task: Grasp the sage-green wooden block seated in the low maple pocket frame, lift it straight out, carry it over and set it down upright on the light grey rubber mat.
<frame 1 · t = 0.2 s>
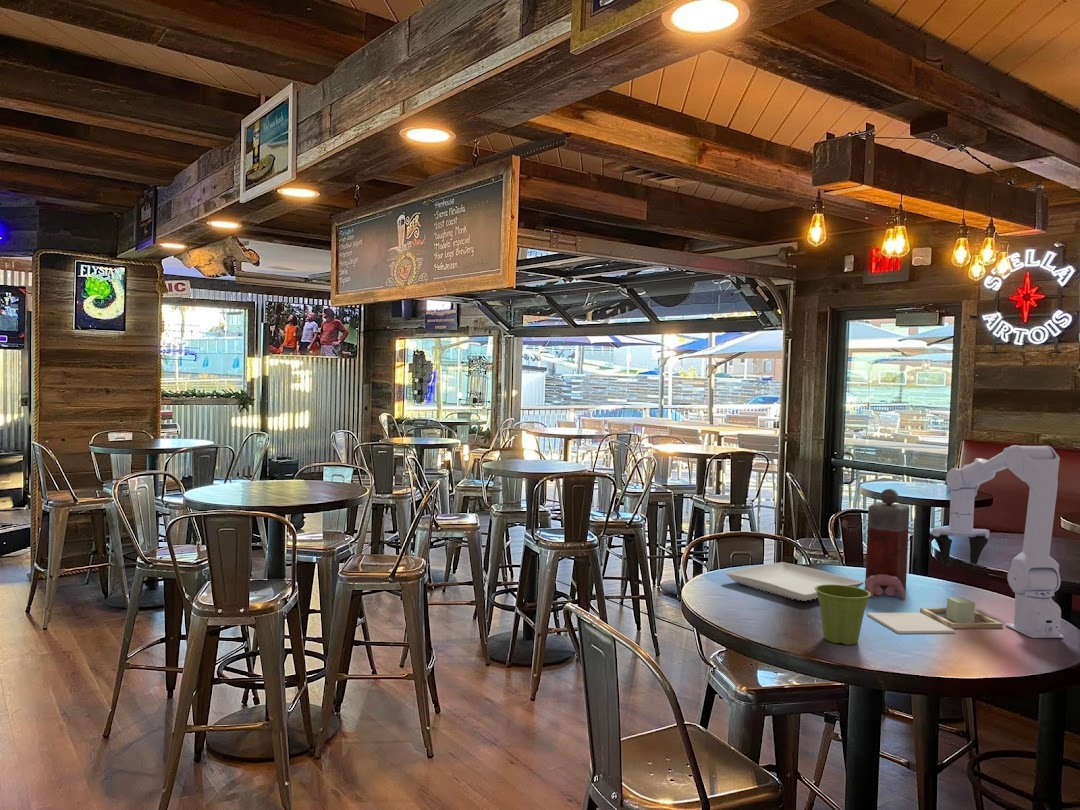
hand: (959, 563, 214), 10 cm above the table, tool pointing down, fingers open, 7 cm apart
plant pot: (840, 640, 178), on the table
maple pocket frame: (960, 619, 196), on the table
grey mat: (909, 623, 191), on the table
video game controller: (884, 597, 216), on the table
brown canister: (886, 586, 228), on the table
square plate: (792, 589, 223), on the table
sage block: (960, 620, 196), resting in maple pocket frame
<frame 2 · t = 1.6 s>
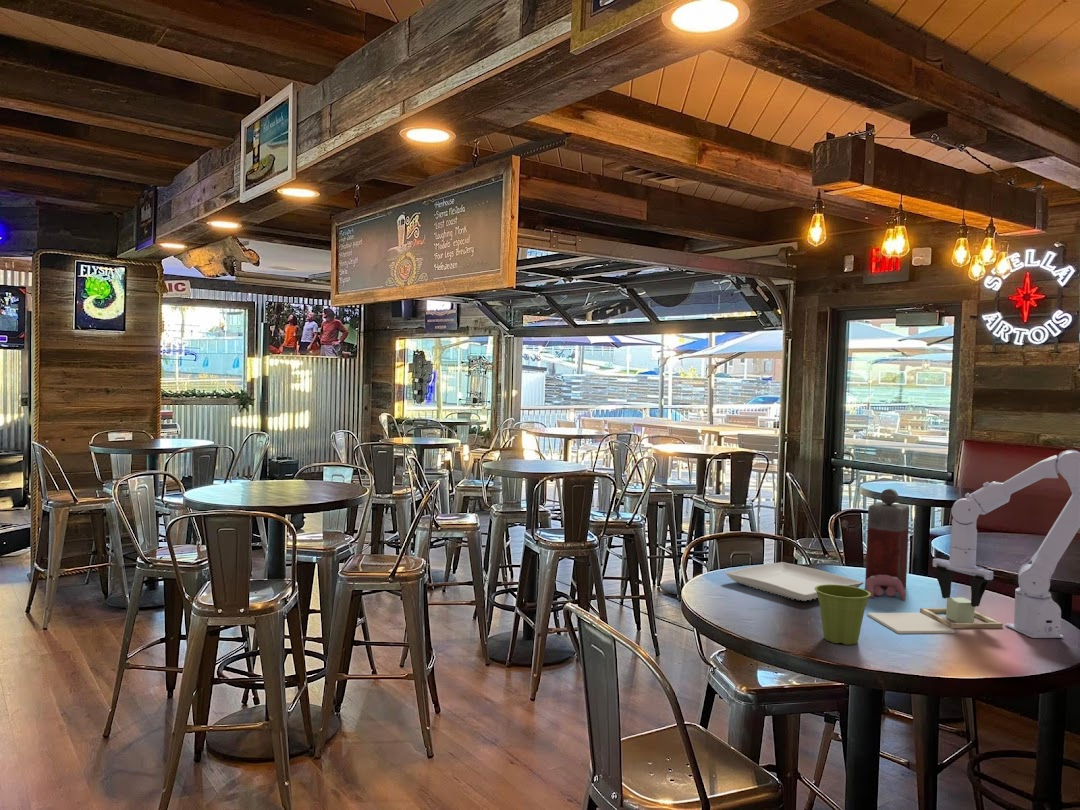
hand: (960, 601, 196), 4 cm above the table, tool pointing down, fingers open, 7 cm apart
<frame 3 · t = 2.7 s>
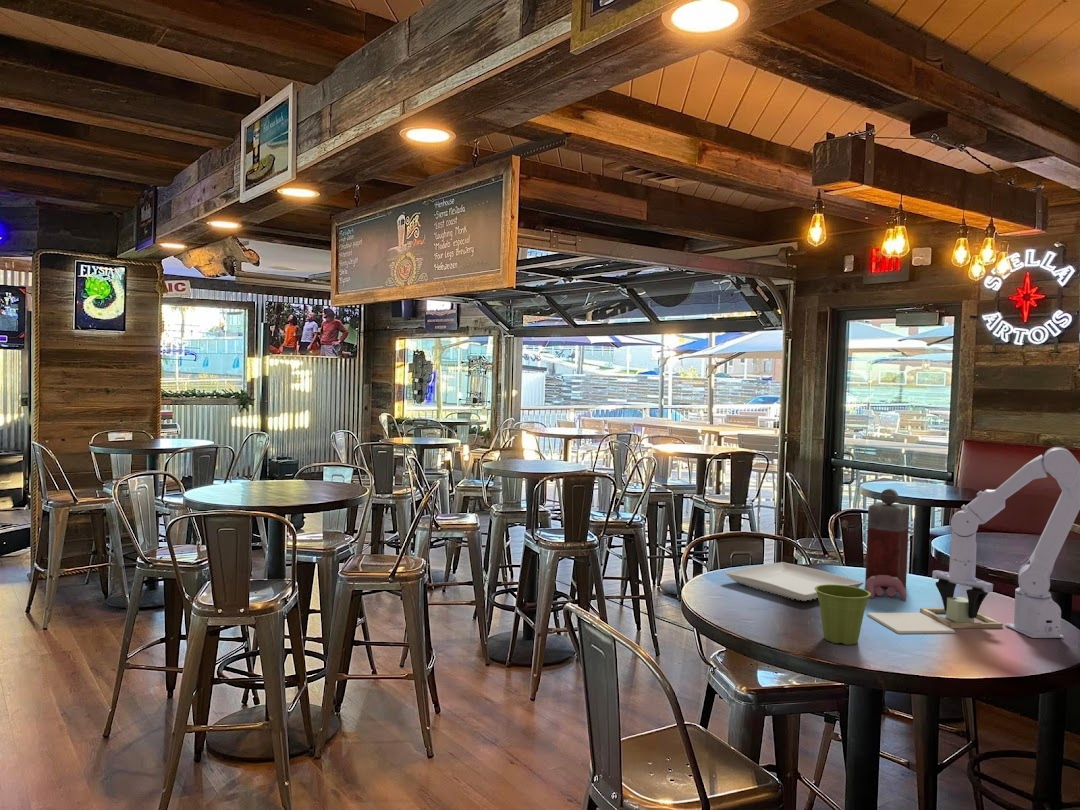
hand: (960, 614, 196), 1 cm above the table, tool pointing down, fingers closed on sage block, 6 cm apart
sage block: (960, 619, 196), resting in maple pocket frame, touching gripper
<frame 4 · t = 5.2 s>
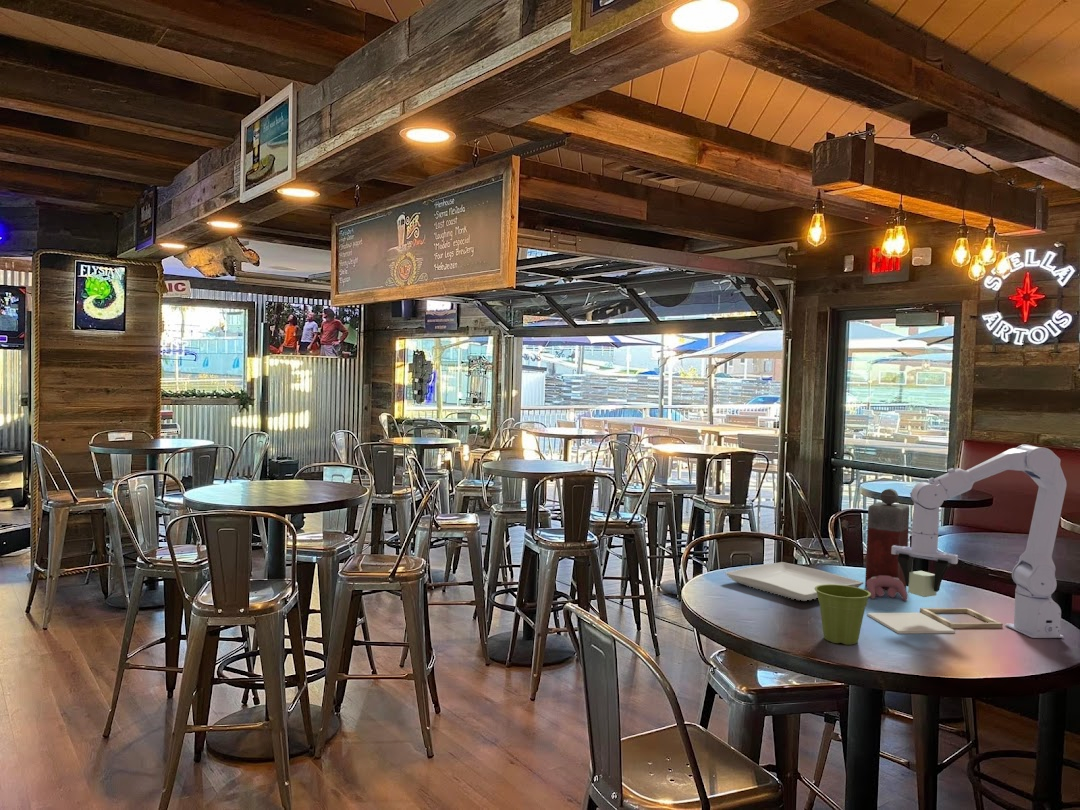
hand: (922, 588, 192), 9 cm above the table, tool pointing down, fingers closed on sage block, 6 cm apart
sage block: (922, 593, 192), point 7 cm above the table, touching gripper
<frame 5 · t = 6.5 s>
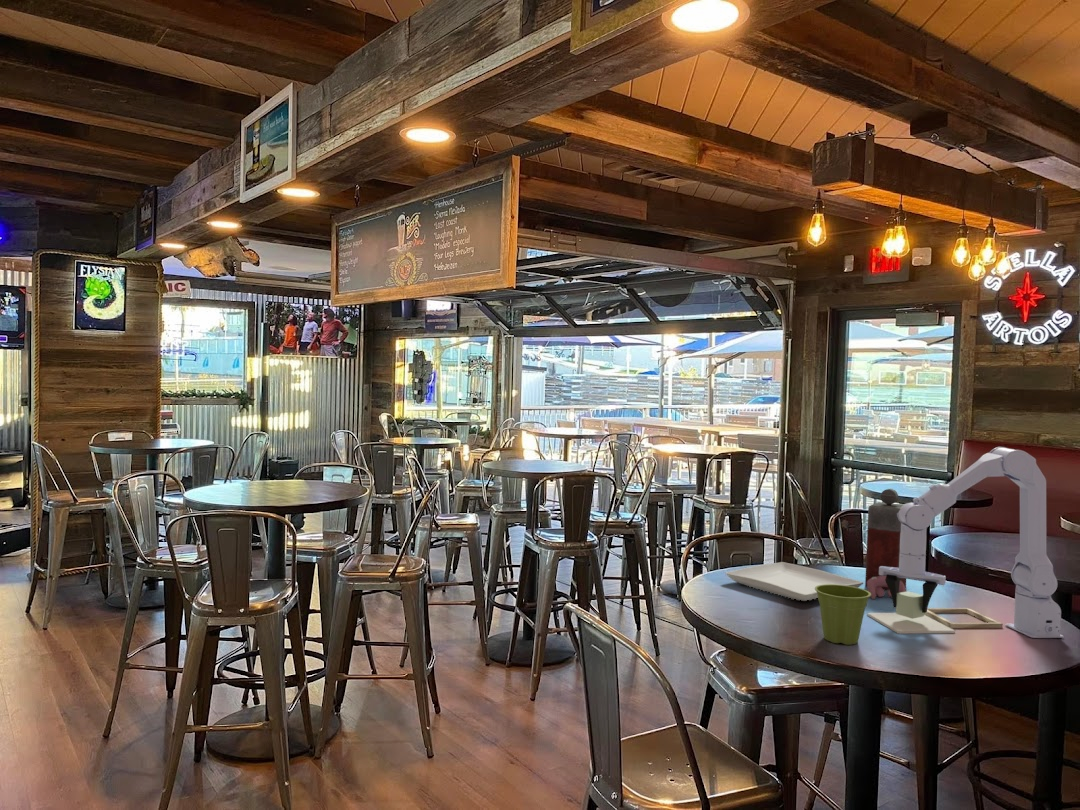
hand: (910, 609, 191), 4 cm above the table, tool pointing down, fingers closed on sage block, 6 cm apart
sage block: (909, 614, 191), point 2 cm above the table, touching gripper
when the fingers open (4 cm above the table, at t = 7.5 s): sage block drops 1 cm, resting on grey mat.
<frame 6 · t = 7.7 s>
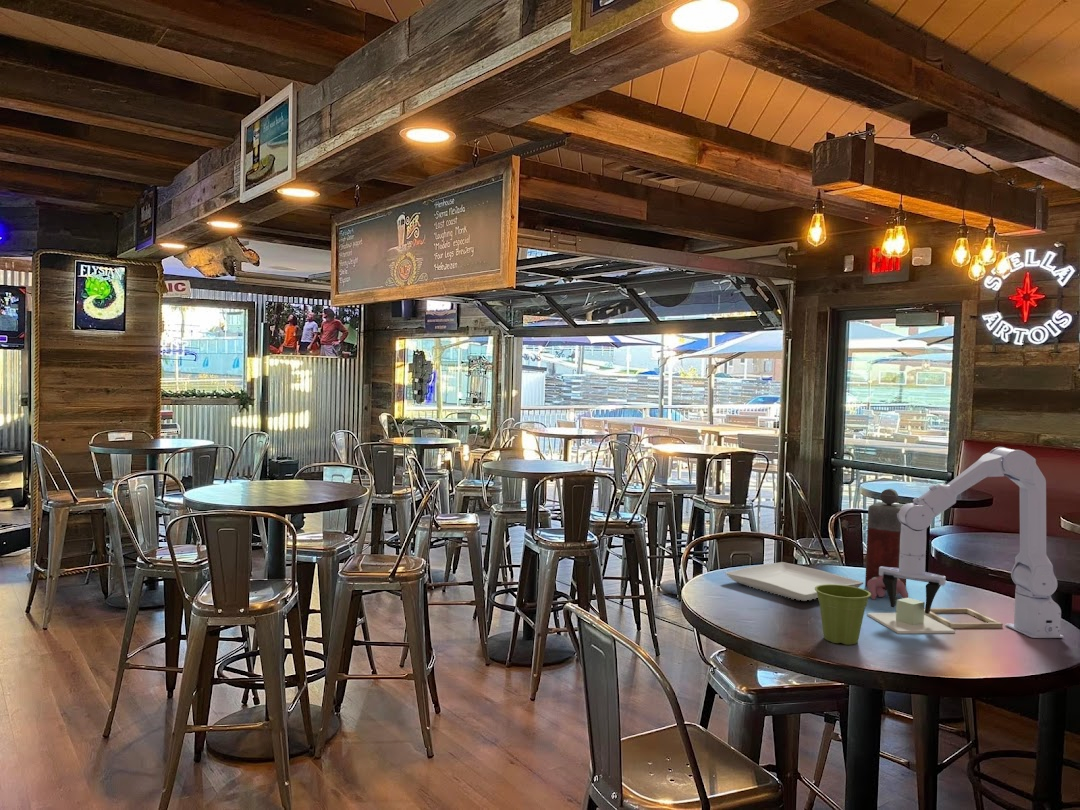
hand: (910, 609, 191), 4 cm above the table, tool pointing down, fingers open, 7 cm apart
sage block: (909, 621, 191), point 1 cm above the table, touching grey mat
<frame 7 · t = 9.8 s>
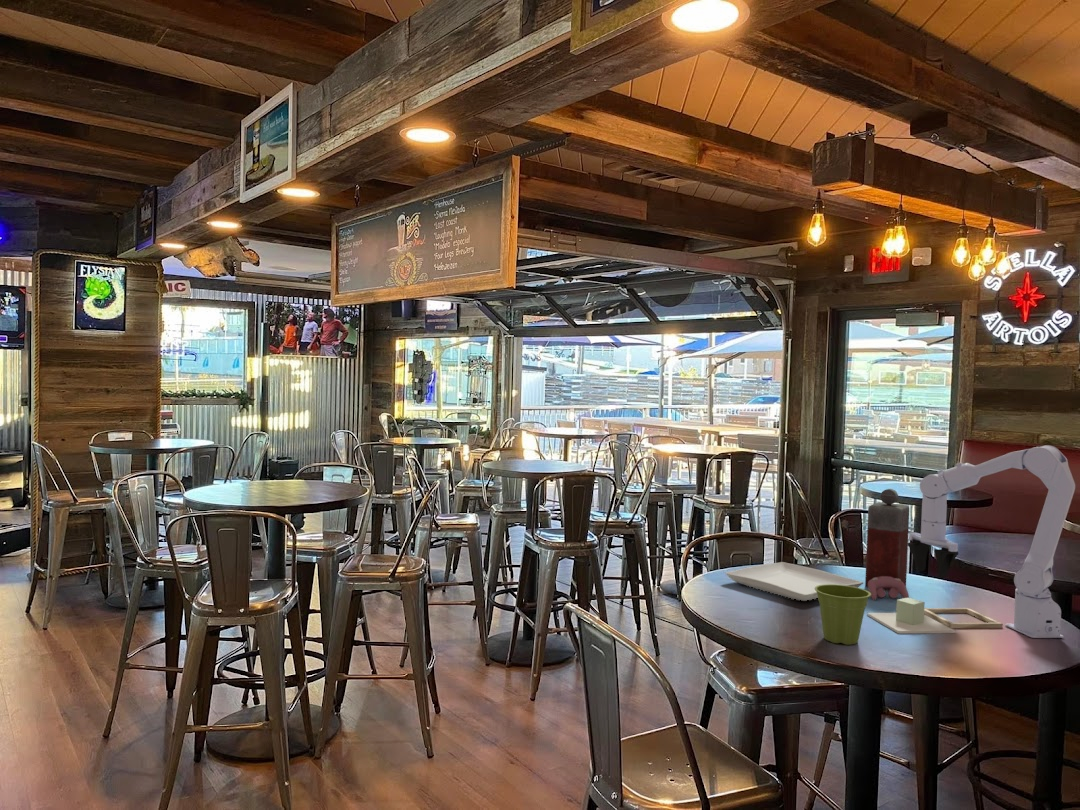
hand: (931, 573, 204), 9 cm above the table, tool pointing down, fingers open, 7 cm apart
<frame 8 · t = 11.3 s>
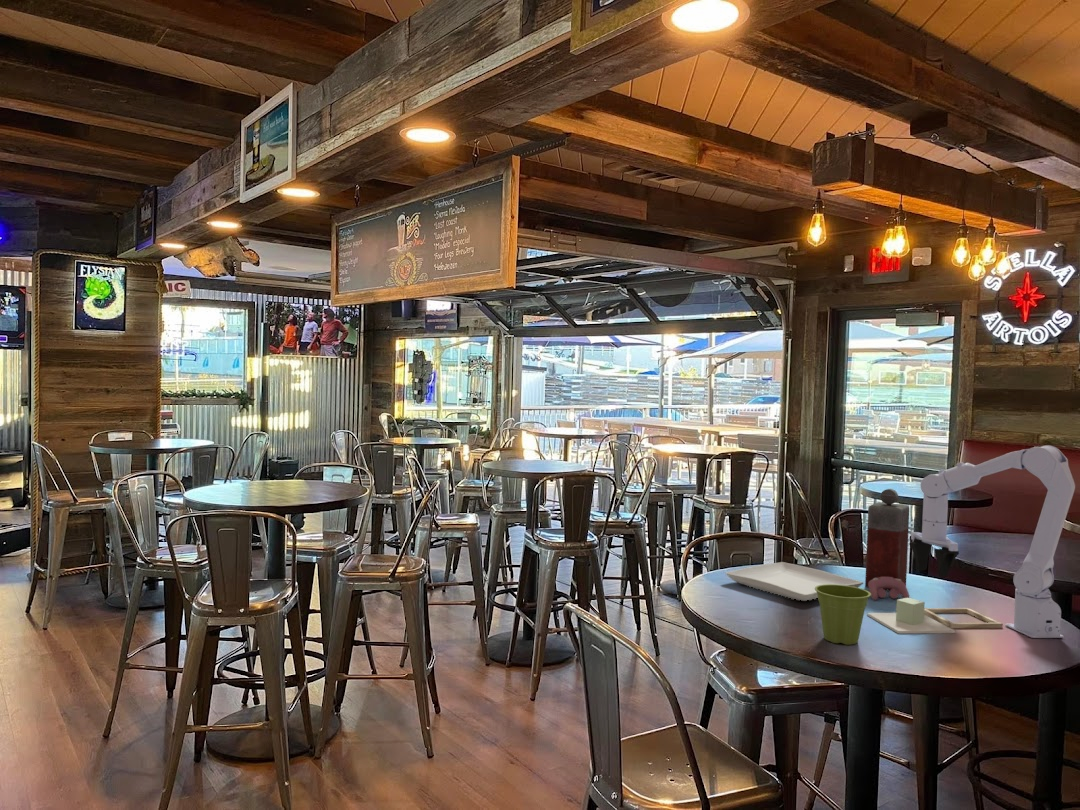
hand: (932, 573, 204), 9 cm above the table, tool pointing down, fingers open, 7 cm apart
at the end: sage block inside the target area on the grey mat (0.0 cm from its centre), point 0.6 cm above the grey mat's base; sage block tilted 0°; the gripper is holding nothing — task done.
